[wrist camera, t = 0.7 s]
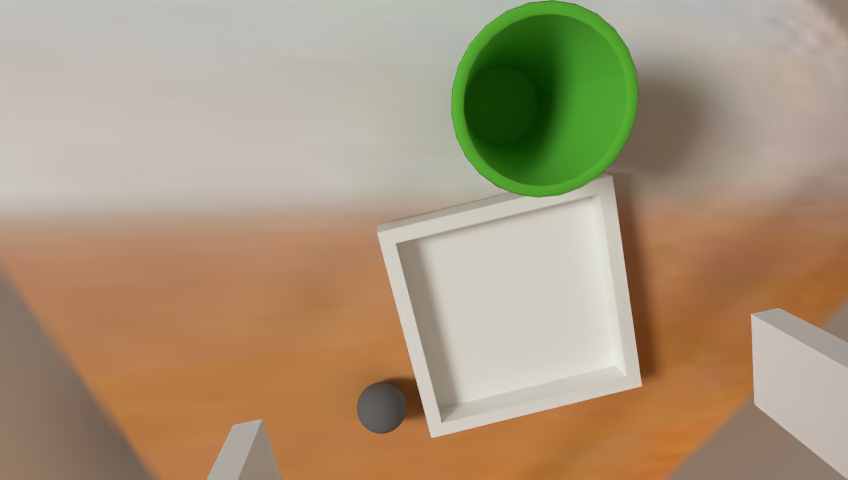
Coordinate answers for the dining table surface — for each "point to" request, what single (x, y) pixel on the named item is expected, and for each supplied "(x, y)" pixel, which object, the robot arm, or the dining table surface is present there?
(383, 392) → the ball
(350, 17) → the dining table surface
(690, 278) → the dining table surface
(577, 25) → the cup
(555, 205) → the tray
